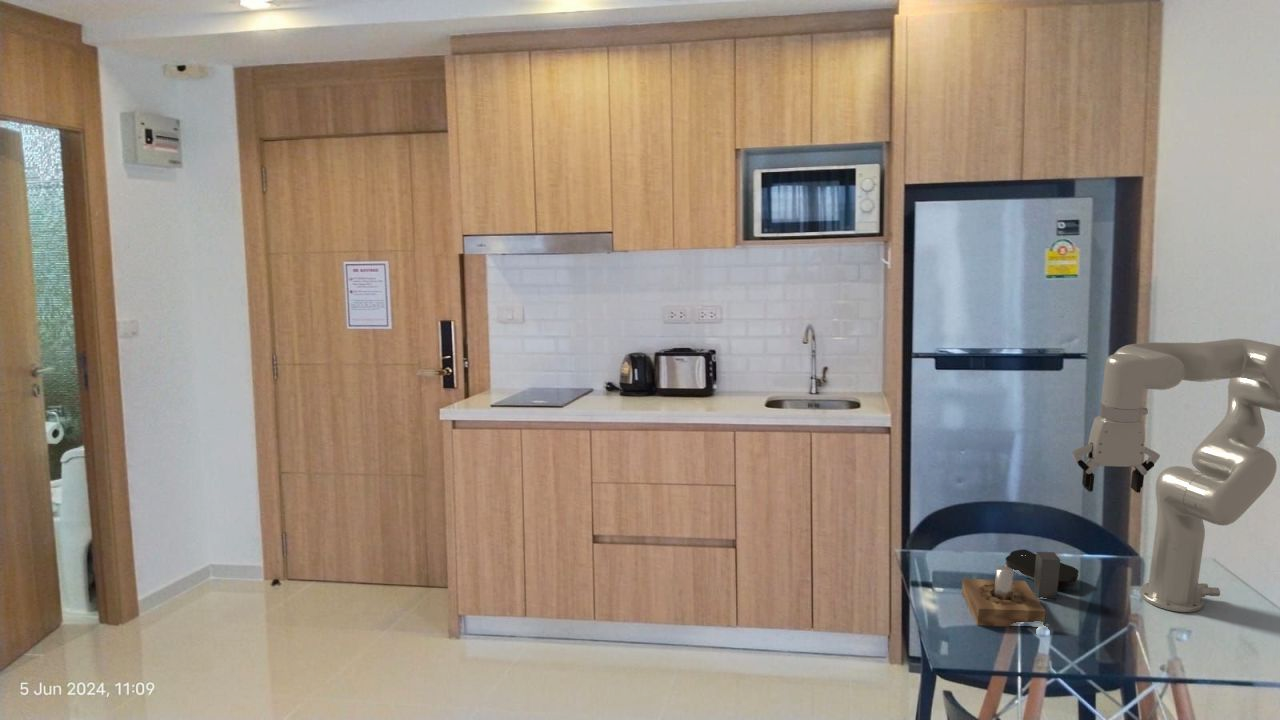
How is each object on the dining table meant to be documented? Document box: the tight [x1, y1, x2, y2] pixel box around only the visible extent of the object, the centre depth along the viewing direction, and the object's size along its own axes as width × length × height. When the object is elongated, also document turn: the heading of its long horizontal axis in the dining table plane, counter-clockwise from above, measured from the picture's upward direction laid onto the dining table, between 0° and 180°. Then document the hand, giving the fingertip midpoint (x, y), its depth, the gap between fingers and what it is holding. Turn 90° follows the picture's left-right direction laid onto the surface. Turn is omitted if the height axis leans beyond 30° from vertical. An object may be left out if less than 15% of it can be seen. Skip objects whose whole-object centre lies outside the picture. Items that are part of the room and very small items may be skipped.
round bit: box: [994, 565, 1015, 600], centre depth 201 cm, size 4×4×10 cm
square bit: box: [1032, 551, 1061, 601], centre depth 208 cm, size 4×4×10 cm
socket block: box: [961, 578, 1046, 627], centre depth 202 cm, size 14×14×4 cm
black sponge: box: [1004, 548, 1080, 592], centre depth 218 cm, size 16×8×4 cm, turn 35°
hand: (1111, 489), depth 192 cm, fingers open, 9 cm apart
